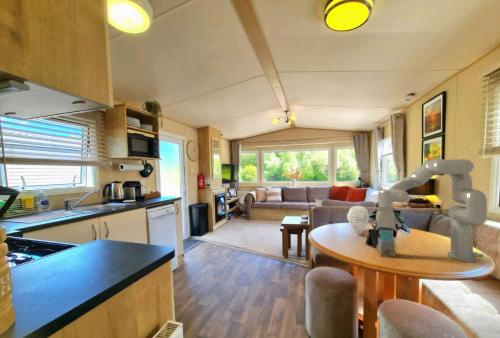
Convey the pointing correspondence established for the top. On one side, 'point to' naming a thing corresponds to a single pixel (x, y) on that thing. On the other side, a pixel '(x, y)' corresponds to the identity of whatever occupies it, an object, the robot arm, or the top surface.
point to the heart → (358, 231)
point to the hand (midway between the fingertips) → (385, 236)
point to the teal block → (386, 234)
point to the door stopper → (372, 239)
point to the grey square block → (386, 252)
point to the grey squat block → (386, 244)
